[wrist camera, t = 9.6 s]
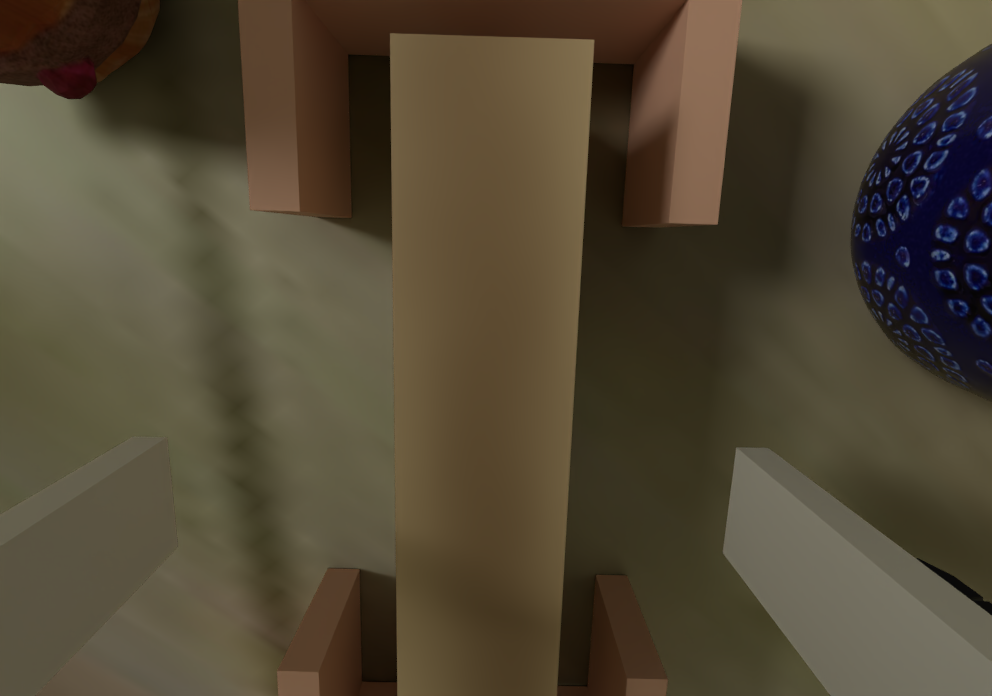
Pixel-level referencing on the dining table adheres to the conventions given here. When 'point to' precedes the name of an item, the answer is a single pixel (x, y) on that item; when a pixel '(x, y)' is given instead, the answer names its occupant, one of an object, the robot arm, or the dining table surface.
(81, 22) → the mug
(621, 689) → the endcap rail
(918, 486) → the dining table surface
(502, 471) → the tan wooden beam
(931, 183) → the planter
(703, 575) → the dining table surface
